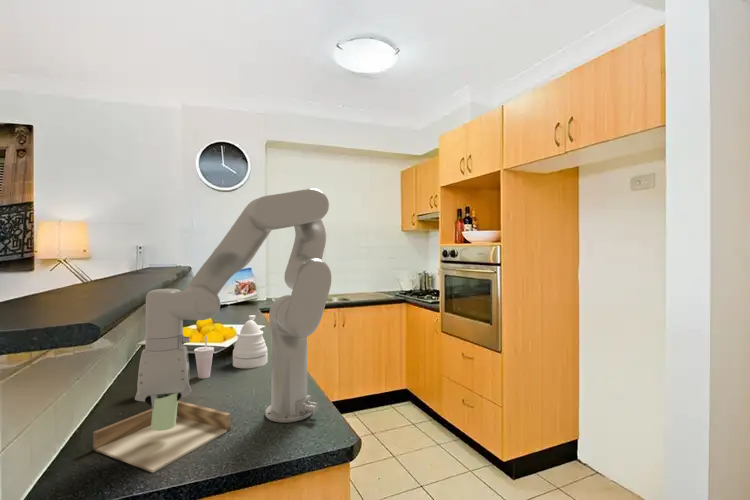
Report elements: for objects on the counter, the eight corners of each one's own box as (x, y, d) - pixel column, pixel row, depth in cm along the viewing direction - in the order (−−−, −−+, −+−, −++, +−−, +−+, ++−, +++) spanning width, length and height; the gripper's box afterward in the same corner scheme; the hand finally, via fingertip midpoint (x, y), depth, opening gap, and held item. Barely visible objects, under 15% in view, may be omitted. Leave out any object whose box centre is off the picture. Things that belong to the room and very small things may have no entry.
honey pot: (240, 358, 156) (240, 313, 156) (271, 358, 155) (271, 314, 155) (226, 368, 143) (226, 319, 143) (261, 368, 142) (261, 319, 142)
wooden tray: (230, 429, 94) (230, 413, 94) (153, 472, 76) (153, 452, 76) (174, 414, 103) (174, 399, 103) (93, 450, 85) (93, 431, 85)
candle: (152, 432, 84) (156, 395, 85) (149, 423, 88) (153, 387, 89) (177, 428, 87) (181, 392, 88) (173, 419, 91) (177, 385, 92)
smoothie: (214, 378, 131) (214, 337, 131) (193, 380, 129) (193, 339, 129) (214, 372, 137) (214, 333, 137) (194, 374, 135) (194, 335, 135)
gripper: (202, 337, 94) (201, 412, 94) (129, 341, 89) (129, 421, 89) (199, 344, 87) (198, 425, 87) (120, 349, 82) (119, 436, 82)
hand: (163, 423), depth 88 cm, fingers closed on candle, 1 cm apart
